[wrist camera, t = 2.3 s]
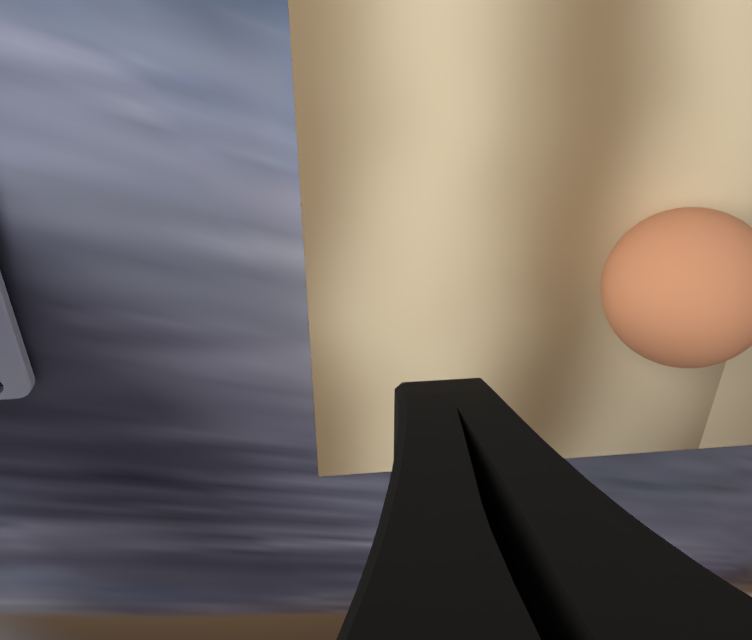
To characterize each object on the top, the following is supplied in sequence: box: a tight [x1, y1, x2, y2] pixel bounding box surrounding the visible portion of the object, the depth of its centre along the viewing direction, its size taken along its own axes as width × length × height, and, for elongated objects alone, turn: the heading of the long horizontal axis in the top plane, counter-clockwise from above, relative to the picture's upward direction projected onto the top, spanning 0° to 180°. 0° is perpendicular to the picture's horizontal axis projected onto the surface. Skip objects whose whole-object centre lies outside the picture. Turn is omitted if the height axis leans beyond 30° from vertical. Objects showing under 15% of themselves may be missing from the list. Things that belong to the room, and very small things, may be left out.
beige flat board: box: [288, 0, 752, 477], centre depth 17 cm, size 18×13×2 cm
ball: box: [601, 207, 752, 368], centre depth 14 cm, size 4×4×4 cm
